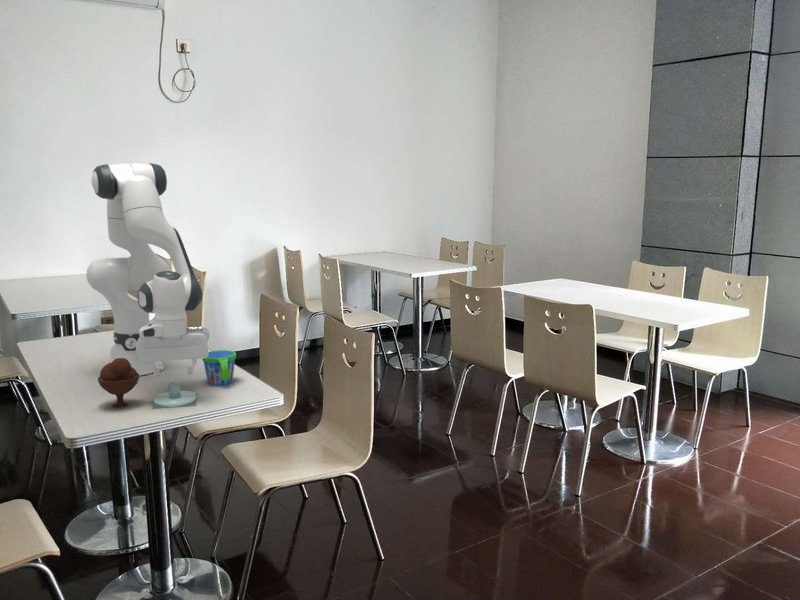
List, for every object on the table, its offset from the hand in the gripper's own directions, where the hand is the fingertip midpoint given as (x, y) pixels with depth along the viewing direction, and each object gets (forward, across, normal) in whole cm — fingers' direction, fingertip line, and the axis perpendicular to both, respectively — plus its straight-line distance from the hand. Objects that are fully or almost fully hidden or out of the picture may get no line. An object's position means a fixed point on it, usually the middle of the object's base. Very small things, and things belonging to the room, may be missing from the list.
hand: (173, 374), depth 203 cm
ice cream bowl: (+9, +15, 0) cm, 18 cm away
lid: (+8, 0, -1) cm, 8 cm away
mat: (+9, 0, -1) cm, 9 cm away
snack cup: (+9, -13, -17) cm, 23 cm away
